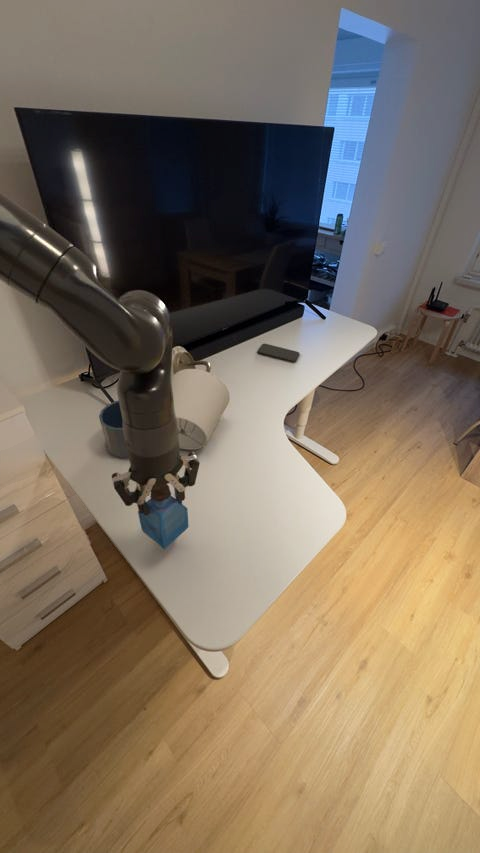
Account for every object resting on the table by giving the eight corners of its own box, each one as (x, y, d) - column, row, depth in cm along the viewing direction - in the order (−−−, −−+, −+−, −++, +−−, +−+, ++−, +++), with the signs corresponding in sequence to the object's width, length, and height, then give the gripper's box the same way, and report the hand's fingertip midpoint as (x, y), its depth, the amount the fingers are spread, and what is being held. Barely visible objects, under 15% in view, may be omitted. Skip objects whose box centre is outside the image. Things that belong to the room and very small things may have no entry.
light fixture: (249, 370, 109) (224, 454, 88) (197, 375, 116) (161, 455, 94) (234, 325, 98) (201, 408, 76) (176, 333, 104) (131, 412, 83)
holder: (111, 463, 85) (103, 434, 78) (104, 434, 92) (95, 405, 86) (158, 451, 89) (153, 422, 82) (147, 423, 97) (142, 395, 90)
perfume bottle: (164, 550, 63) (158, 511, 55) (142, 530, 65) (133, 491, 57) (188, 527, 66) (186, 488, 59) (166, 509, 69) (161, 470, 61)
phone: (295, 361, 125) (256, 351, 128) (294, 363, 125) (256, 353, 129) (300, 352, 130) (263, 342, 134) (299, 354, 131) (262, 344, 134)
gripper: (190, 410, 55) (193, 479, 66) (96, 432, 50) (116, 502, 61) (207, 441, 50) (207, 509, 61) (104, 468, 45) (125, 537, 56)
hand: (162, 505), depth 61 cm, fingers closed on perfume bottle, 5 cm apart
